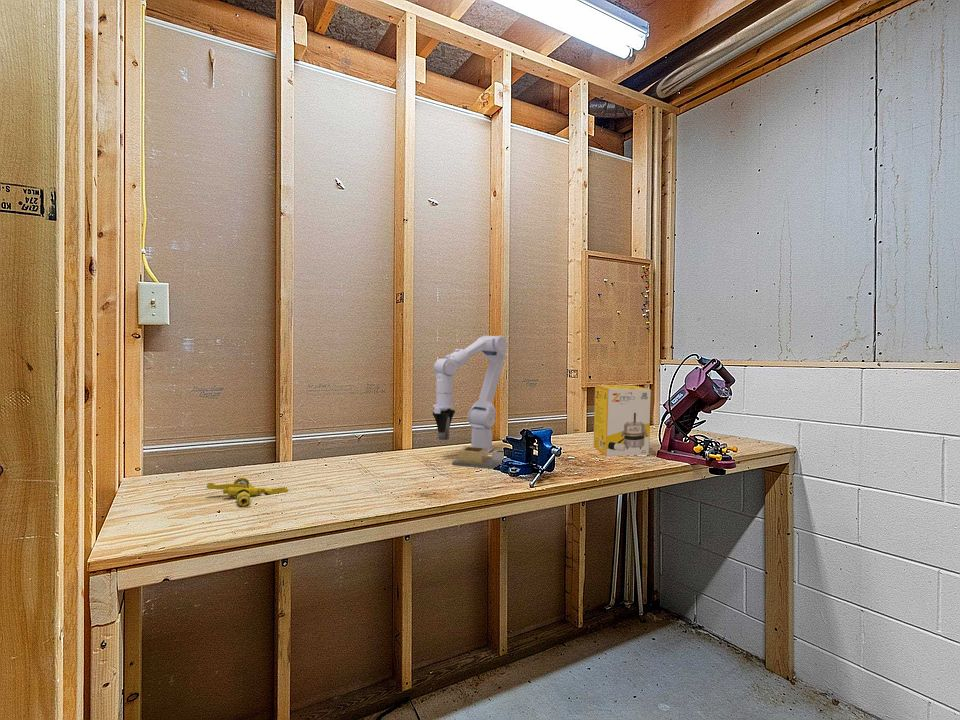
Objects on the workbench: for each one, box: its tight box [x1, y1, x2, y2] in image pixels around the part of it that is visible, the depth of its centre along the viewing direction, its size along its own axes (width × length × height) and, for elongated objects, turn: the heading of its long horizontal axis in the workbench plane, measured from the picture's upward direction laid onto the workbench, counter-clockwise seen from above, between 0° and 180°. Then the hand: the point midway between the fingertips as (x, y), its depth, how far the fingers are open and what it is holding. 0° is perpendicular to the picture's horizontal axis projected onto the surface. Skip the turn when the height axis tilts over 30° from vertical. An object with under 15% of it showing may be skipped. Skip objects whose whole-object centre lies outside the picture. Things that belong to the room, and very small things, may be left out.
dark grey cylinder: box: [437, 416, 450, 441], centre depth 176 cm, size 4×4×8 cm
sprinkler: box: [205, 477, 289, 507], centre depth 128 cm, size 19×4×15 cm
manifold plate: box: [452, 445, 504, 470], centre depth 170 cm, size 12×18×4 cm, turn 75°
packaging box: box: [593, 384, 652, 457], centre depth 193 cm, size 16×16×25 cm
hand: (443, 431), depth 176 cm, fingers closed on dark grey cylinder, 4 cm apart
